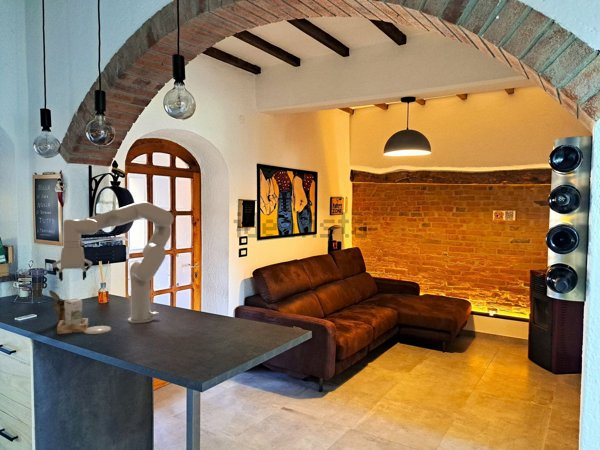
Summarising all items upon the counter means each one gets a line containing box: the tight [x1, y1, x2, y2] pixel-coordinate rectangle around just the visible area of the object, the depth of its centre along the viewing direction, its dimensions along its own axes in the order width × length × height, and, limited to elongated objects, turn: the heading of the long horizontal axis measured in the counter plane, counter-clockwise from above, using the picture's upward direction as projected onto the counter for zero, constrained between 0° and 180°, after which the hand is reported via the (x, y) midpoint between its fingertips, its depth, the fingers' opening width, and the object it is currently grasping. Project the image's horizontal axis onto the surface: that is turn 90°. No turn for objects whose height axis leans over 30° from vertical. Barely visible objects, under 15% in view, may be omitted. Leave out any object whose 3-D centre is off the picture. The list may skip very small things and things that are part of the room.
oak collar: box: [56, 317, 89, 335], centre depth 212 cm, size 12×12×4 cm
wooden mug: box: [49, 289, 70, 325], centre depth 222 cm, size 9×14×18 cm, turn 149°
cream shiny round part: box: [83, 325, 112, 335], centre depth 211 cm, size 12×12×1 cm
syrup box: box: [64, 298, 83, 325], centre depth 212 cm, size 6×6×14 cm
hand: (72, 280), depth 211 cm, fingers open, 9 cm apart
